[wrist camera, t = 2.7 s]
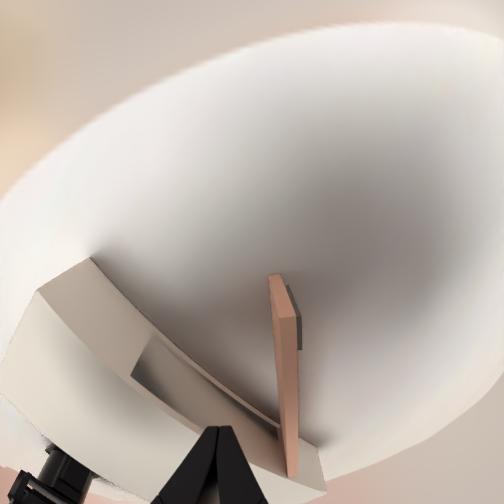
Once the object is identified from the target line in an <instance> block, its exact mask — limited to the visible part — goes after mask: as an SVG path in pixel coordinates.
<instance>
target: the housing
mask: <svg viewBox="0 0 504 504" xmlns="http://www.w3.org/2000/svg"><path fill="white" fill-rule="evenodd" d="M0 393H1V394H2V395H3V396H4V397H5V398H6V399H7V400H8V401H9V402H10V404H11V405H12V406H13V407H14V408H15V409H16V410H17V411H18V412H19V413H20V414H21V415H22V416H23V417H24V418H26V419H27V420H28V421H29V422H30V423H31V424H32V425H33V426H34V427H35V428H36V429H38V430H39V431H40V432H41V433H42V434H43V435H44V436H46V437H47V438H48V439H49V440H50V441H52V442H53V443H54V444H55V445H57V446H58V447H59V448H61V449H62V450H63V451H65V452H66V453H67V454H69V455H70V456H71V457H73V458H74V459H75V460H77V461H78V462H80V463H81V464H83V465H84V466H86V467H87V468H89V469H90V470H92V471H93V472H95V473H96V474H98V475H100V476H101V477H103V478H105V479H106V480H108V481H110V482H111V483H113V484H115V485H117V486H119V487H120V488H122V489H124V490H126V491H128V492H130V493H132V494H134V495H136V496H138V497H140V498H142V499H144V500H146V501H148V502H150V503H151V502H152V501H153V499H154V498H155V497H156V495H158V493H159V492H160V490H161V489H162V488H163V487H164V485H165V484H166V483H167V481H168V480H169V479H170V477H171V476H172V475H173V473H174V472H175V471H176V469H177V468H178V467H179V465H180V464H181V462H182V461H183V460H184V458H185V457H186V456H187V454H188V453H189V451H190V450H191V449H192V447H193V446H194V444H195V443H196V441H197V440H198V439H199V437H200V436H201V434H202V433H203V431H204V430H205V429H206V427H207V426H219V427H220V426H222V425H231V426H232V428H233V430H234V432H235V434H236V437H237V439H238V441H239V444H240V446H241V448H242V450H243V452H244V455H245V457H246V459H247V461H248V463H249V465H250V467H251V470H252V472H253V474H254V476H255V478H256V480H257V482H258V484H259V486H260V488H261V490H262V492H263V494H264V496H265V498H266V499H267V501H268V503H269V504H302V503H305V502H307V501H310V500H313V499H315V498H318V497H320V496H323V495H325V494H327V493H328V492H327V488H326V484H325V480H324V476H323V472H322V468H321V464H320V460H319V456H318V453H317V449H316V447H315V446H313V445H311V444H310V443H308V442H306V441H305V440H303V439H301V438H300V437H298V476H293V477H288V475H287V468H286V461H285V454H284V447H283V441H282V434H281V426H280V425H279V424H277V423H276V422H274V421H273V420H271V419H270V418H268V417H267V416H265V415H264V414H262V413H261V412H259V411H258V410H257V409H255V408H254V407H252V406H251V405H249V404H248V403H247V402H245V401H244V400H242V399H241V398H240V397H238V396H237V395H236V394H234V393H233V392H232V391H230V390H229V389H228V388H226V387H225V386H224V385H222V384H221V383H220V382H219V381H217V380H216V379H215V378H214V377H212V376H211V375H210V374H209V373H207V372H206V371H205V370H204V369H202V368H201V367H200V366H199V365H198V364H196V363H195V362H194V361H193V360H192V359H190V358H189V357H188V356H187V355H186V354H185V353H183V352H182V351H181V350H180V349H179V348H178V347H177V346H176V345H174V344H173V343H172V342H171V341H170V340H169V339H168V338H167V337H166V336H164V335H163V334H162V333H161V332H160V331H159V330H158V329H157V328H156V327H155V326H154V325H153V324H152V323H151V322H150V321H149V320H148V319H147V318H145V317H144V316H143V315H142V314H141V313H140V312H139V311H138V310H137V309H136V308H135V307H134V306H133V305H132V304H131V303H130V301H129V300H128V299H127V298H126V297H125V296H124V295H123V294H122V293H121V292H120V291H119V290H118V289H117V288H116V287H115V286H114V285H113V283H112V282H111V281H110V280H109V279H108V278H107V277H106V276H105V275H104V274H103V272H102V271H101V270H100V269H99V268H98V267H97V266H96V264H95V263H94V262H93V261H92V260H91V259H90V257H89V258H87V259H85V260H84V261H82V262H80V263H79V264H77V265H75V266H74V267H72V268H70V269H69V270H67V271H65V272H64V273H62V274H60V275H59V276H57V277H56V278H54V279H52V280H51V281H49V282H48V283H46V284H44V285H43V286H41V287H40V288H38V289H37V290H36V291H35V293H34V295H33V297H32V299H31V300H30V302H29V304H28V306H27V308H26V310H25V312H24V314H23V316H22V318H21V320H20V322H19V324H18V326H17V328H16V330H15V332H14V335H13V337H12V339H11V341H10V344H9V346H8V348H7V351H6V353H5V355H4V358H3V360H2V363H1V366H0Z"/></svg>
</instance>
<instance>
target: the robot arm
mask: <svg viewBox="0 0 504 504" xmlns="http://www.w3.org/2000/svg"><path fill="white" fill-rule="evenodd" d="M45 451H46V452H47V453H48V454H49V457H48V459H47V461H46V463H45V465H44V466H43V468H42V470H41V472H40V474H39V476H38V478H37V479H36V478H35V477H34V476H32V474H31V473H29V472H27V473H26V472H25V471H23V470H21V471H20V473H19V475H18V476H17V478H16V480H15V482H14V484H13V486H12V488H11V490H10V491H9V493H8V498H9V501H10V503H9V504H83V503H84V500H85V498H86V495H87V493H88V490H89V487H90V485H91V482H92V479H93V478H98V477H101V476H100V475H98V474H96V473H95V472H93V471H92V470H90V469H89V468H87V467H86V466H84V465H83V464H81V463H80V462H78V461H77V460H75V459H74V458H73V457H71V456H70V455H69V454H67V453H66V452H65V451H63V450H62V449H61V448H59V447H58V446H57V445H55V444H54V443H53V444H52V445H50V446H49V447H47V448H46V449H45ZM27 484H29V485H30V486H32V487H33V489H30V488H29V487H28V486H27ZM38 491H39V492H38ZM41 493H42V494H41ZM44 495H45V496H44ZM47 497H48V498H47ZM50 499H51V500H50ZM150 504H269V503H268V501H267V499H266V498H265V496H264V494H263V492H262V490H261V488H260V486H259V484H258V482H257V480H256V478H255V476H254V474H253V472H252V470H251V467H250V465H249V463H248V461H247V459H246V457H245V455H244V452H243V450H242V448H241V446H240V444H239V441H238V439H237V437H236V434H235V432H234V430H233V428H232V426H231V425H222V426H220V427H219V426H207V427H206V429H205V430H204V431H203V433H202V434H201V436H200V437H199V439H198V440H197V441H196V443H195V444H194V446H193V447H192V449H191V450H190V451H189V453H188V454H187V456H186V457H185V458H184V460H183V461H182V462H181V464H180V465H179V467H178V468H177V469H176V471H175V472H174V473H173V475H172V476H171V477H170V479H169V480H168V481H167V483H166V484H165V485H164V487H163V488H162V489H161V490H160V492H159V493H158V495H156V497H155V498H154V499H153V501H152V502H151V503H150Z"/></svg>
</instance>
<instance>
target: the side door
mask: <svg viewBox="0 0 504 504" xmlns="http://www.w3.org/2000/svg"><path fill="white" fill-rule="evenodd" d="M268 279H269V290H270V301H271V312H272V324H273V336H274V348H275V360H276V372H277V385H278V398H279V412H280V426H281V434H282V441H283V447H284V454H285V461H286V468H287V475H288V477H293V476H298V354H297V351H298V350H302V322H301V314H300V312H299V309H298V307H297V304H296V302H295V300H294V297H293V295H292V292H291V290H290V288H289V285H287V286H285V285H284V283H283V280H282V277H281V275H280V274H274V275H268Z"/></svg>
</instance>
